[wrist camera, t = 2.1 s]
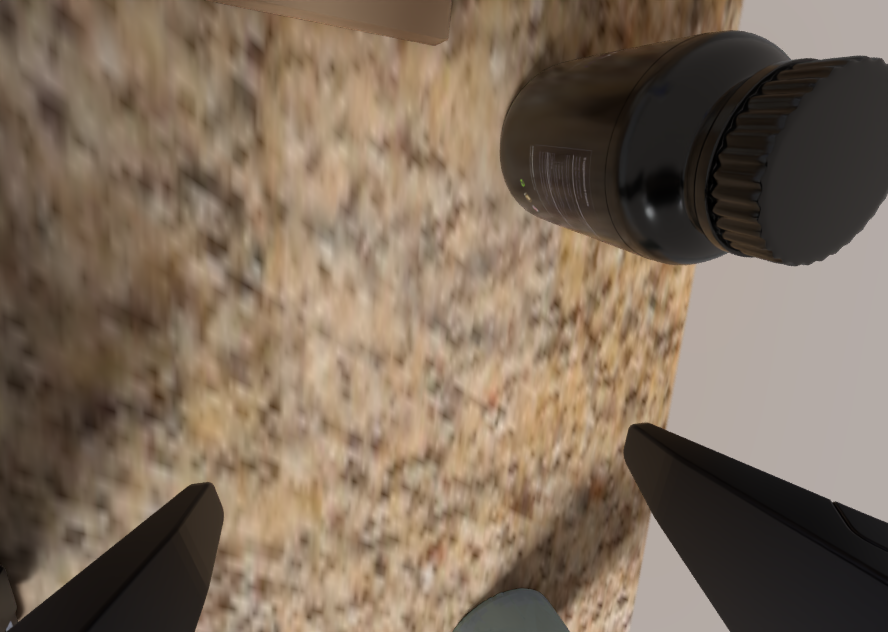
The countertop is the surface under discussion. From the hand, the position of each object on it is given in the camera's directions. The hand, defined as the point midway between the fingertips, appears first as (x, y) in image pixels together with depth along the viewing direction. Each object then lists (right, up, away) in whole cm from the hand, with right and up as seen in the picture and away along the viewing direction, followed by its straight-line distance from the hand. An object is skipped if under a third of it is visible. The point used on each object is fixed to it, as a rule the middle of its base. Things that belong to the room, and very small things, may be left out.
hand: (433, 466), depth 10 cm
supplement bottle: (+6, +11, +11) cm, 17 cm away
